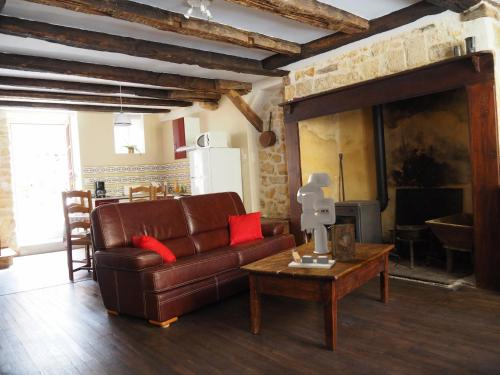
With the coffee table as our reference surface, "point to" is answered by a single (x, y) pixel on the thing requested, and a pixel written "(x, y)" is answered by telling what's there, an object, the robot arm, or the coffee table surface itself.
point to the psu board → (313, 262)
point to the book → (343, 242)
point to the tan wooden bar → (296, 256)
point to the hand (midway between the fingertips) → (309, 238)
